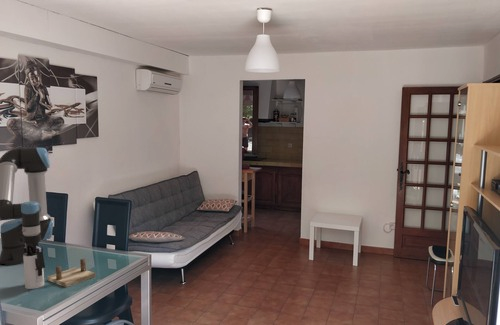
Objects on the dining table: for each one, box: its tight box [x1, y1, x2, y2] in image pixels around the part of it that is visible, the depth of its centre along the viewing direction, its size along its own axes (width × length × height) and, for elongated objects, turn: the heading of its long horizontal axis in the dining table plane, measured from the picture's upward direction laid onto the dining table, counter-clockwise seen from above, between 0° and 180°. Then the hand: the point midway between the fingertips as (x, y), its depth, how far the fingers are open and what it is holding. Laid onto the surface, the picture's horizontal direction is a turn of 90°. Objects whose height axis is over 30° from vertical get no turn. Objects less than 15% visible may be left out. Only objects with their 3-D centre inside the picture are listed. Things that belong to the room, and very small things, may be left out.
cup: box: [23, 253, 45, 290], centre depth 197 cm, size 8×8×16 cm
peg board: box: [47, 258, 96, 288], centre depth 206 cm, size 16×16×8 cm
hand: (34, 280), depth 198 cm, fingers closed on cup, 8 cm apart
